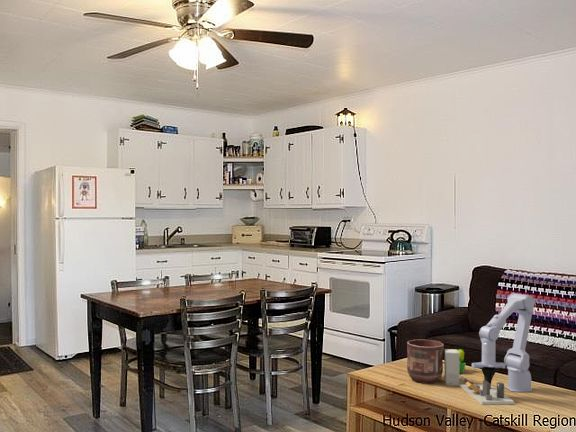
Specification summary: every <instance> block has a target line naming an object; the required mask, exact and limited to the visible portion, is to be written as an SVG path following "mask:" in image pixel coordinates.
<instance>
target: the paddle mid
mask: <svg viewBox="0 0 576 432" xmlns="http://www.w3.org/2000/svg"><path fill="white" fill-rule="evenodd" d="M468 381H469V380H468ZM468 381H467V383H466V382H465V384H466V385H468V386H469V387H470V388H472V389H474V390H475V391H477V392H479V390H480V389H479V388H477V387H476V386H474V385H473V384H471V383H469V382H468Z"/></svg>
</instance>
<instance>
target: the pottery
mask: <svg viewBox="0 0 576 432" xmlns="http://www.w3.org/2000/svg"><path fill="white" fill-rule="evenodd" d="M444 344H445V343H442V342H441V341H439V340H432V339H418V338H417V339H412V340H408V341H407V342H406V347H407V349H406V352H407V359H406V362H407V363H406V364H407V368H406V370H407V373H408V375H409V377H410V378H411V379H412V380H413V381H414V382H415V383H416V382H417V383H421V384H433V383H436V382H438V380H440V379H441V377H442V375H443V374H444V373H443V372H444V366H443V365H444V363H443V362H444V349H445V345H444Z"/></svg>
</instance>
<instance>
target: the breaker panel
mask: <svg viewBox="0 0 576 432" xmlns="http://www.w3.org/2000/svg"><path fill="white" fill-rule="evenodd" d="M469 381H470V380H469ZM483 381H485V377H484V376H483ZM470 382H471V383H472V384H474V386H476V387H477V388H479V389H480V390H479V392H477V391H475V390H474V389H472V388H470V387H469V386H468V385H466V383H465V384H460V386H459V387H460V388H461V390H463V389H464V390H463V391H465V392H466V393H467V394H468V395H469V396H471V397H472V398H473V399H474V400H476V401H477V402H478V403H480V404H481V405H482V406H483V405H515V401H514V400H513V399H511V398H510V397H509V396H507V395H506V394H505V383H504V382H496V387H495V386H492V384H491V385H490V395H486V397H485V396H483V383H482V384H479V383H478V384H475V383H474V380H473V381H472V380H471V381H470Z"/></svg>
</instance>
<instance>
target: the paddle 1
mask: <svg viewBox="0 0 576 432" xmlns="http://www.w3.org/2000/svg"><path fill="white" fill-rule="evenodd" d="M460 380H461V381H463V382H464V383H465V384H466V383H467V381H468V382H469V383H471V382H470V380H468V379H467V378H465V377H464V376H463V375H462V376H461V377H460ZM471 384H472V383H471ZM474 384H475V383H474ZM474 384H473V385H474Z"/></svg>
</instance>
